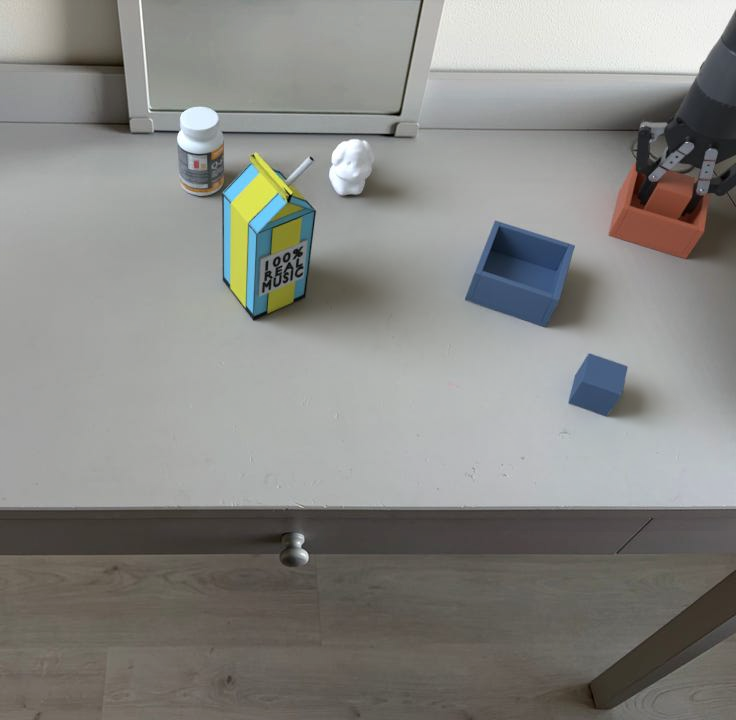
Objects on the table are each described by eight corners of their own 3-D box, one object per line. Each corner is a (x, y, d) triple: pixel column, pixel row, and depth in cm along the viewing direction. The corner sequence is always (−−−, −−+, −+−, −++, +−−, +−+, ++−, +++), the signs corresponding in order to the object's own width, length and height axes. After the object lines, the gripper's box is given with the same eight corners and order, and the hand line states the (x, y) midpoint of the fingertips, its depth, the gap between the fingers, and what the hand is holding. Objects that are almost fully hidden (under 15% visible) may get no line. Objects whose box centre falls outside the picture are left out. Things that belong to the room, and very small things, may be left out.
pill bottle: (223, 198, 99) (222, 133, 91) (178, 197, 99) (173, 132, 91) (224, 169, 102) (224, 104, 94) (181, 168, 102) (177, 102, 94)
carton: (312, 296, 89) (329, 171, 75) (254, 322, 87) (260, 198, 72) (278, 255, 93) (288, 129, 79) (222, 279, 91) (221, 153, 76)
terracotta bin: (693, 212, 100) (711, 184, 97) (686, 259, 95) (704, 231, 91) (619, 190, 102) (634, 162, 99) (608, 235, 97) (623, 207, 93)
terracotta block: (679, 202, 97) (695, 177, 94) (676, 222, 95) (692, 197, 92) (647, 193, 98) (661, 167, 95) (642, 212, 96) (657, 187, 93)
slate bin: (561, 272, 93) (575, 245, 89) (545, 327, 88) (559, 300, 84) (484, 248, 95) (495, 220, 91) (464, 300, 90) (474, 272, 86)
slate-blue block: (612, 388, 83) (628, 366, 80) (606, 416, 81) (622, 395, 78) (574, 375, 84) (588, 352, 81) (567, 403, 82) (581, 381, 78)
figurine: (330, 206, 99) (338, 155, 92) (321, 166, 103) (327, 115, 97) (372, 204, 99) (382, 154, 93) (361, 164, 104) (370, 113, 97)
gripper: (661, 84, 82) (599, 207, 96) (805, 121, 79) (719, 243, 93) (669, 49, 86) (608, 172, 100) (806, 83, 83) (724, 205, 97)
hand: (662, 206), depth 96 cm, fingers closed on terracotta block, 4 cm apart
